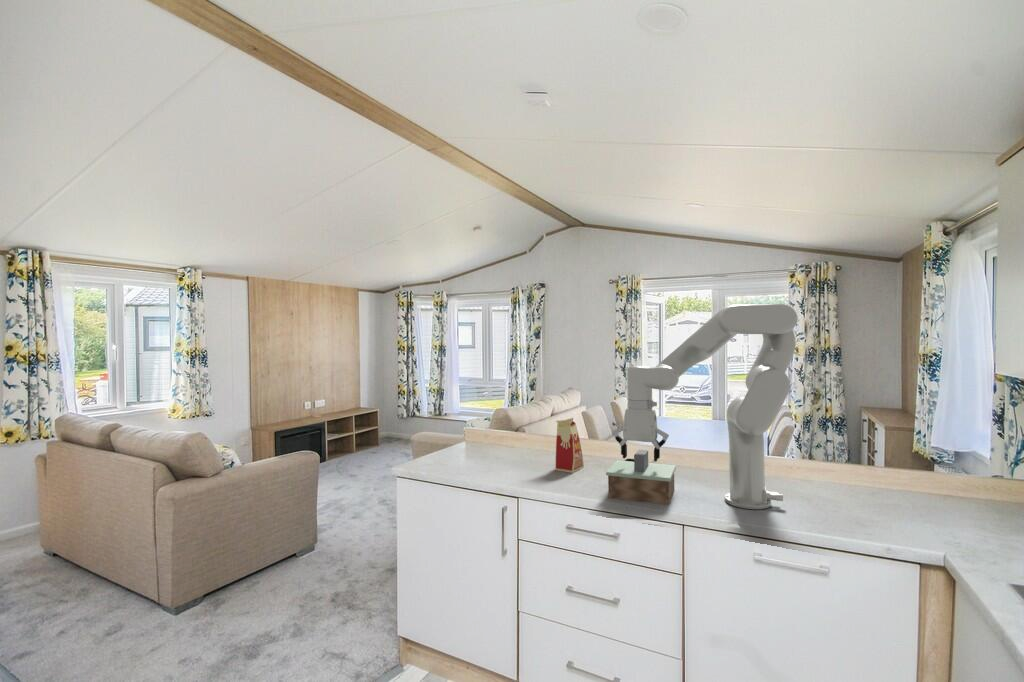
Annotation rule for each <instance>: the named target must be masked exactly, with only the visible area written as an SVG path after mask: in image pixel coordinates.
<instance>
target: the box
mask: <svg viewBox="0 0 1024 682" xmlns="http://www.w3.org/2000/svg"><path fill="white" fill-rule="evenodd" d="M607 479H608V480H607V481H608V483H607V484H608V498H609V499H619V500H624V501H625V500H626V501H632V502H633V501H634V502H642V503H652V504H658V505H665V506H666V505H668V506H670V505H671V502H672V498H673V495H674V492H675V473H674V474H673V476H672V479H671V481H670V482H668V481H658V480H648V479H638V478H628V477H619V476H609V475H607Z"/></svg>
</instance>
